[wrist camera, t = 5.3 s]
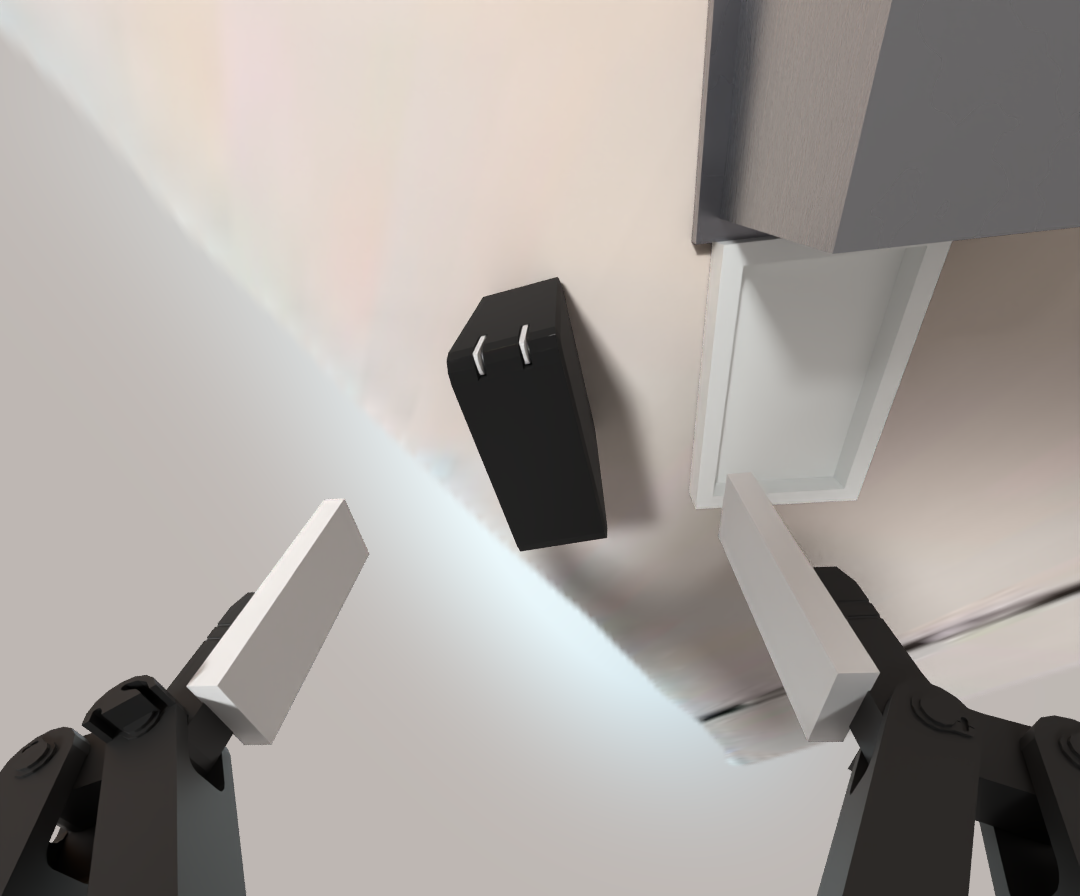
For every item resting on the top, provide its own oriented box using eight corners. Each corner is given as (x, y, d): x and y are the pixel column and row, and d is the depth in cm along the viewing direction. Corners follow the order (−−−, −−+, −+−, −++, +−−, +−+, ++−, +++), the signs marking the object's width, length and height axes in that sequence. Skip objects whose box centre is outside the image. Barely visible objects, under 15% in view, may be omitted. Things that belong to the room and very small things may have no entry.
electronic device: (533, 444, 28) (521, 560, 20) (484, 293, 23) (439, 363, 15) (595, 432, 28) (610, 546, 19) (559, 272, 22) (557, 334, 14)
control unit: (712, -52, 16) (908, -342, 7) (1137, -129, 15) (2077, -616, 6) (691, 241, 21) (786, 295, 12) (1000, 206, 20) (1364, 237, 11)
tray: (712, 239, 21) (723, 245, 20) (930, 214, 20) (960, 218, 19) (688, 491, 30) (695, 509, 28) (841, 482, 29) (856, 500, 27)
